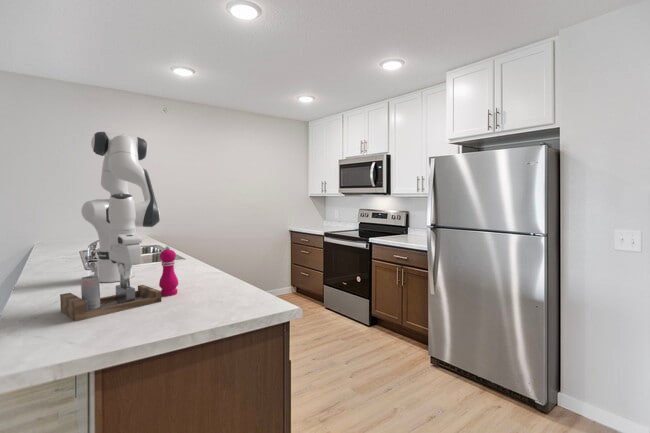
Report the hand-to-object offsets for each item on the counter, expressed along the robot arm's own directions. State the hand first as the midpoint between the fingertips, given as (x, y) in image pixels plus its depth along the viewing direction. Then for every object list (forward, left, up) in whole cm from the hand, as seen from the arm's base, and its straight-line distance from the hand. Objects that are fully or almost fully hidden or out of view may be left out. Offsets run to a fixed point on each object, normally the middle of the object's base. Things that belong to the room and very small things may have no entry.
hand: (124, 274), depth 134 cm
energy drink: (0, -11, -11) cm, 16 cm away
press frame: (0, -4, -11) cm, 12 cm away
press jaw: (0, 0, -11) cm, 11 cm away
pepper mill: (0, +17, -11) cm, 20 cm away
